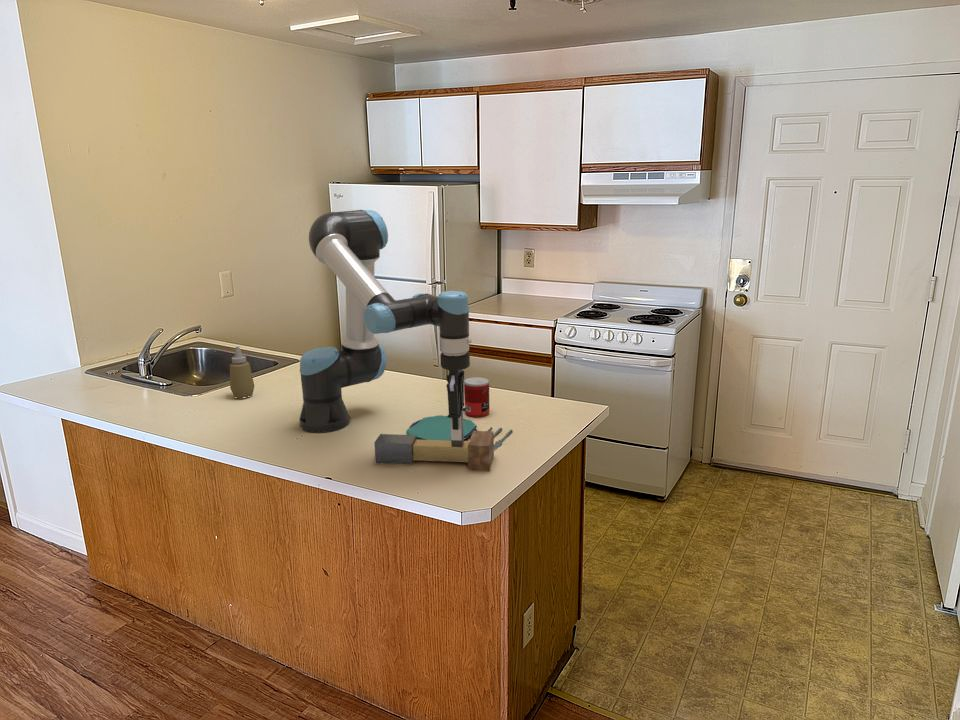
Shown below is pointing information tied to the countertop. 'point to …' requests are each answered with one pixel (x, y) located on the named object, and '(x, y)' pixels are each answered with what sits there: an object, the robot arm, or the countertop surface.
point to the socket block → (481, 450)
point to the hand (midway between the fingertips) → (457, 437)
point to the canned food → (476, 396)
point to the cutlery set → (444, 429)
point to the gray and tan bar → (441, 449)
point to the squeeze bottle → (241, 376)
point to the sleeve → (394, 449)
